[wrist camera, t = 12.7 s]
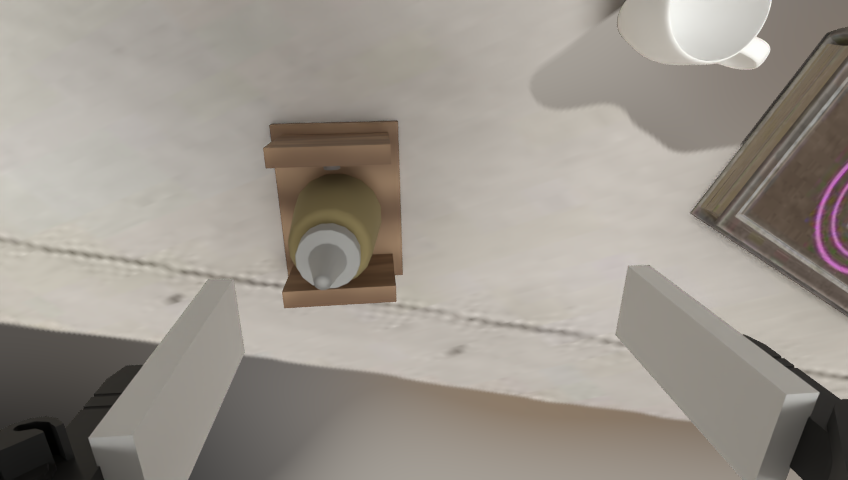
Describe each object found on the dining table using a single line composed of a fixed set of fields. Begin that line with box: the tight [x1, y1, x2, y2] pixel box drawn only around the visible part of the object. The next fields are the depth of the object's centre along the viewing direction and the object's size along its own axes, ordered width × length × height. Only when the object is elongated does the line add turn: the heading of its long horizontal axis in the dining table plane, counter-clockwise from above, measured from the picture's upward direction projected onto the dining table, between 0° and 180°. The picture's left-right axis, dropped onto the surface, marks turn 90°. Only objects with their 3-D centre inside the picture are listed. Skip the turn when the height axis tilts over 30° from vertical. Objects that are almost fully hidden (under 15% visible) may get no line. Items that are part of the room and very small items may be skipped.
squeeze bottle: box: [288, 174, 381, 290], centre depth 38 cm, size 8×8×18 cm
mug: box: [617, 0, 772, 70], centre depth 40 cm, size 12×8×11 cm
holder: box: [263, 121, 403, 308], centre depth 44 cm, size 16×12×9 cm
